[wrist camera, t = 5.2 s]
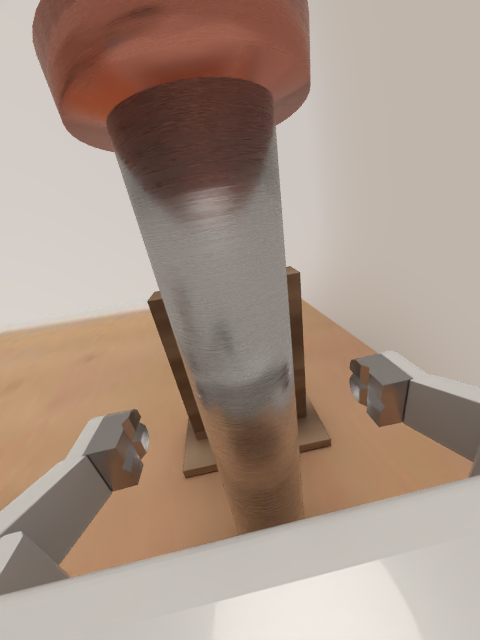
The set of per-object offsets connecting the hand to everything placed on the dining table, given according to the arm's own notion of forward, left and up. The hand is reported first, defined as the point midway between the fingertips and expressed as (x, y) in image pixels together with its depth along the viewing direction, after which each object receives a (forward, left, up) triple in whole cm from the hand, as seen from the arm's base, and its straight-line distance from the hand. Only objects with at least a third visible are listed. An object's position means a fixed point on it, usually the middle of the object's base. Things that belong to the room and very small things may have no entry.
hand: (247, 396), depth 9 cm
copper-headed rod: (+4, +4, -12) cm, 13 cm away
